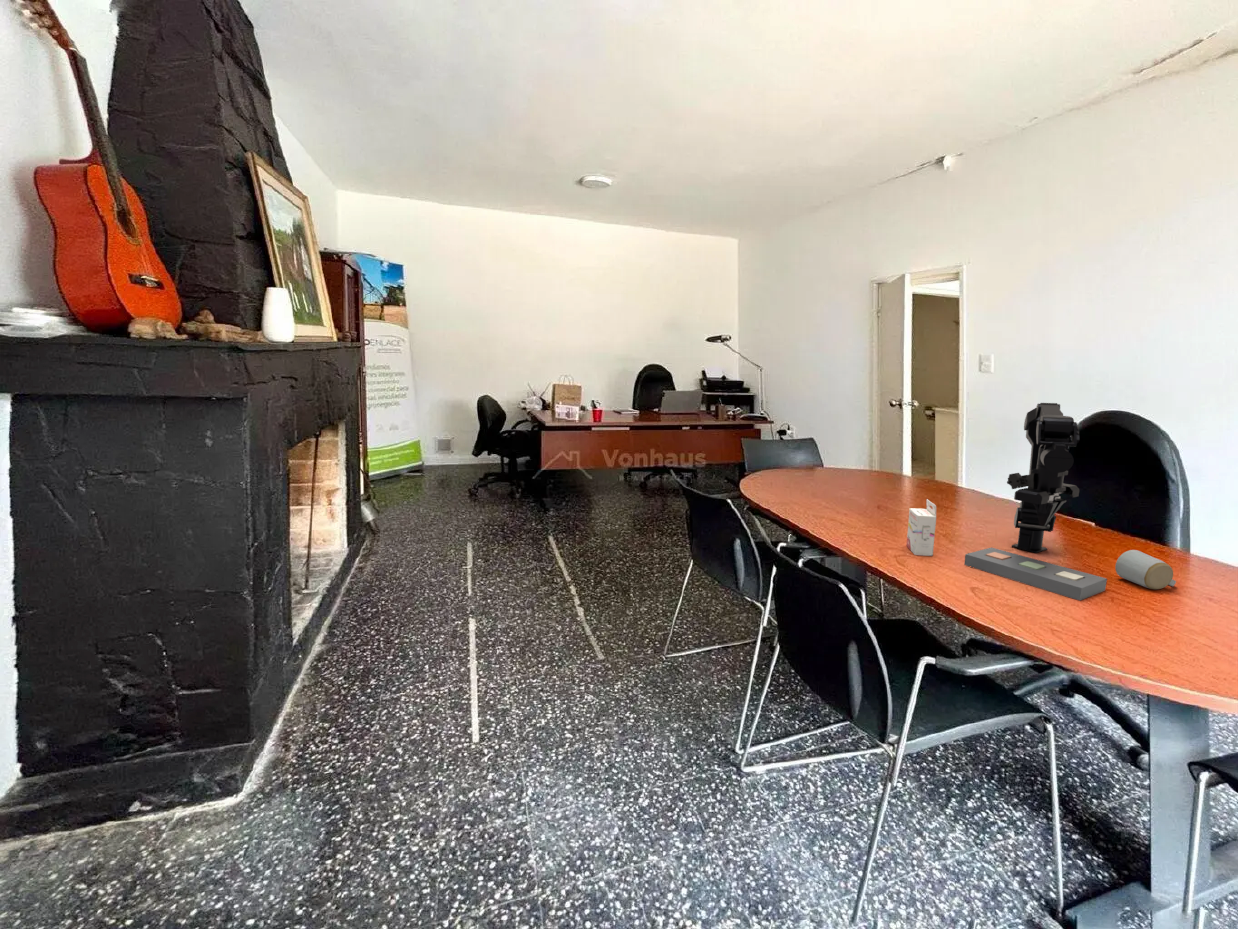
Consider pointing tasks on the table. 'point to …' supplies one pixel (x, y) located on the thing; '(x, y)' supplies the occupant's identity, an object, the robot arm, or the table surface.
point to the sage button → (1032, 565)
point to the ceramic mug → (1144, 570)
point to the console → (1037, 574)
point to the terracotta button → (998, 556)
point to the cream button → (1069, 576)
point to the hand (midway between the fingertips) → (1042, 525)
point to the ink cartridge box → (922, 530)
